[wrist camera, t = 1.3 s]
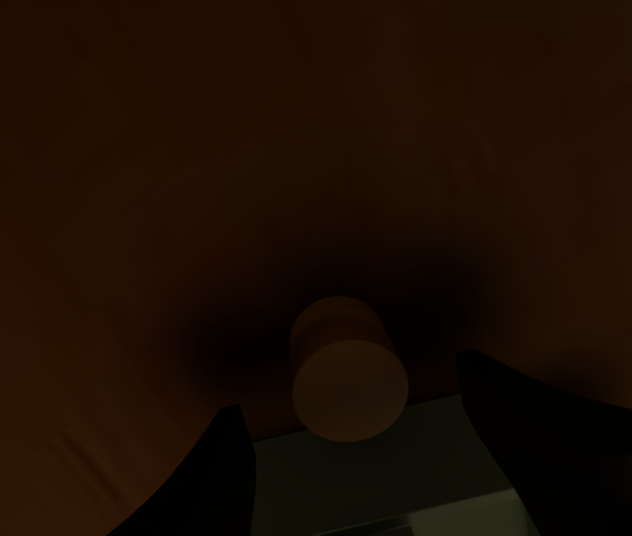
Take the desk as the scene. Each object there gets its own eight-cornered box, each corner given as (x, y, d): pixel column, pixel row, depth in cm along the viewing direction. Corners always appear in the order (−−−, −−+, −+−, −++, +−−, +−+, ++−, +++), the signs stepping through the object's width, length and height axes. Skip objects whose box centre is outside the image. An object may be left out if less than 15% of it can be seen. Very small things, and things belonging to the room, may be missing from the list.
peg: (391, 369, 20) (417, 428, 16) (301, 390, 20) (306, 454, 16) (375, 285, 18) (399, 327, 15) (279, 307, 18) (278, 356, 15)
